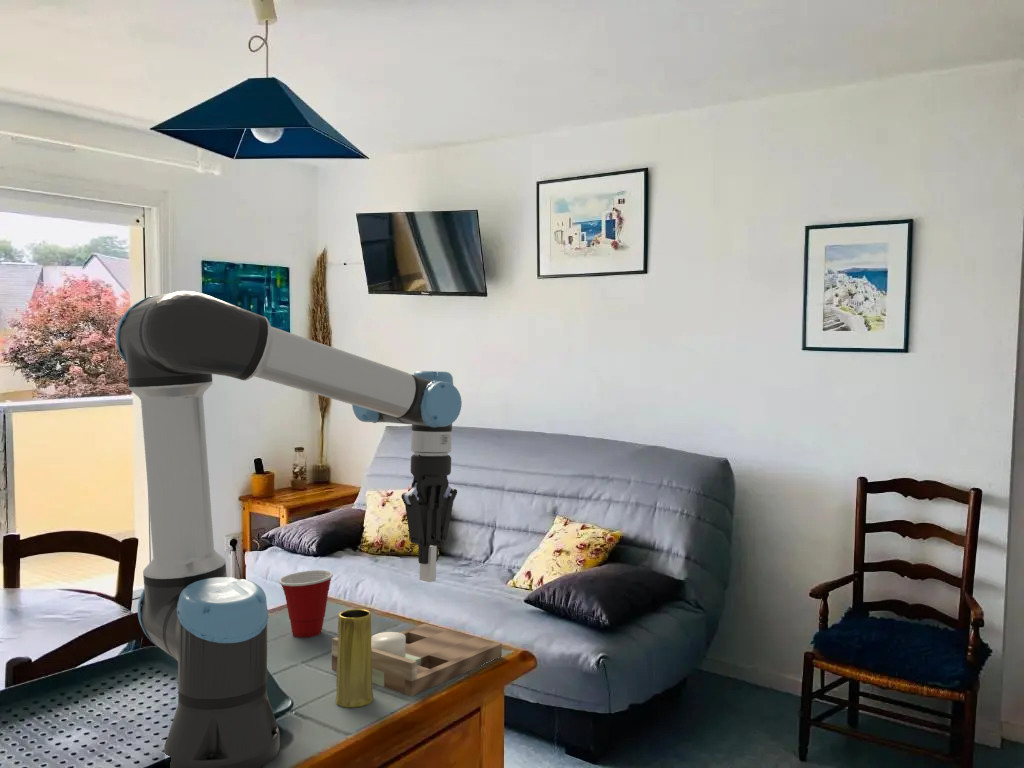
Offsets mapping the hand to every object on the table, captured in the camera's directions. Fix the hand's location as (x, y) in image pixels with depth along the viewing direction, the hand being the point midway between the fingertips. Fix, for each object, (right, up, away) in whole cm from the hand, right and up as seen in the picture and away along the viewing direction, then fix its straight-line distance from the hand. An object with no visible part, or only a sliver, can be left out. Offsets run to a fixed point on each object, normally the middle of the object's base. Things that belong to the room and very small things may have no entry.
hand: (427, 580), depth 152 cm
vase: (-10, -15, -19) cm, 26 cm away
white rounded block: (-6, -12, -7) cm, 16 cm away
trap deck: (-1, -15, -2) cm, 15 cm away
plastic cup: (-26, -15, +15) cm, 34 cm away
